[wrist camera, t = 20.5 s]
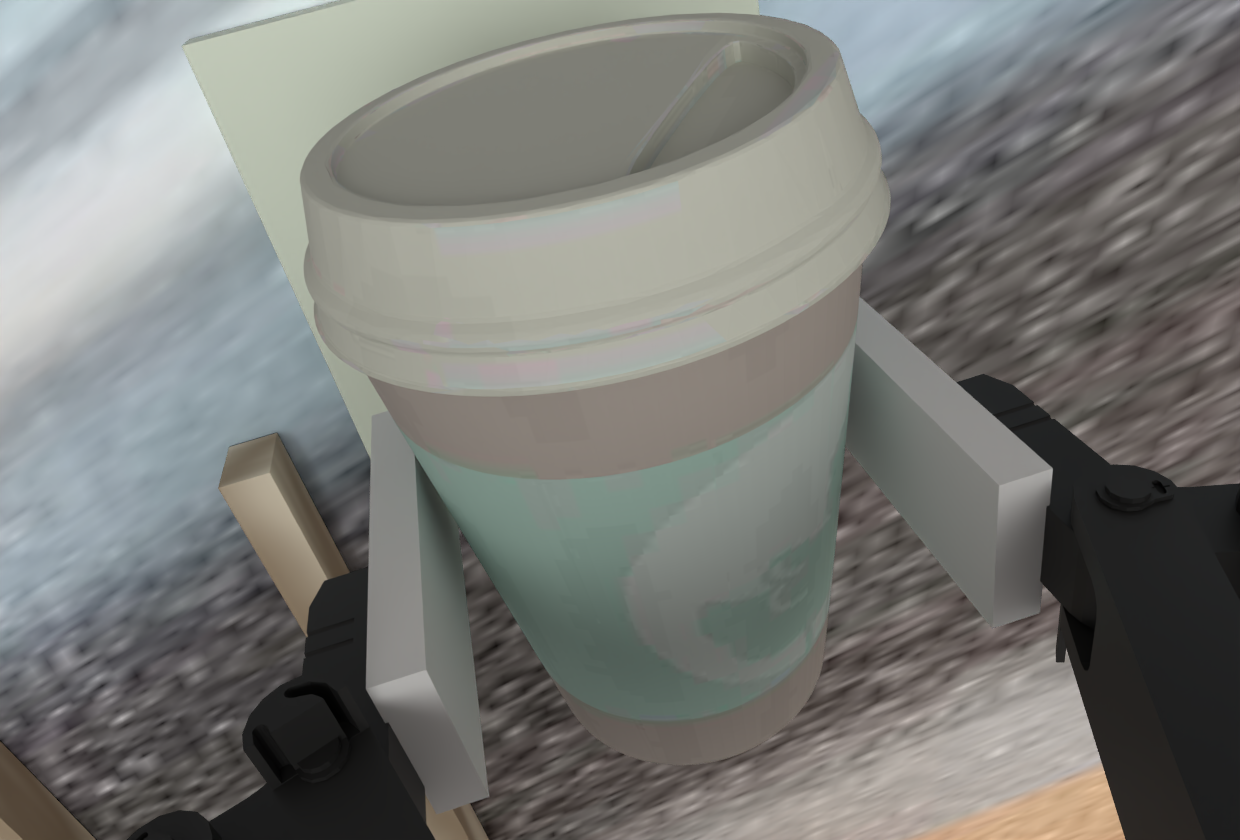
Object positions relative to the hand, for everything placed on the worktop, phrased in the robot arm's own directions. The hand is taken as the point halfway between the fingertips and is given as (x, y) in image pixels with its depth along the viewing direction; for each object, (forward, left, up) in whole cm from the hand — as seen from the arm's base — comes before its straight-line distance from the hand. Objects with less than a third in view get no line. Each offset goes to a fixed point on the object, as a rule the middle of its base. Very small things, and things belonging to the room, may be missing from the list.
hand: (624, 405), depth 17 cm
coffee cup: (0, -6, +1) cm, 6 cm away
